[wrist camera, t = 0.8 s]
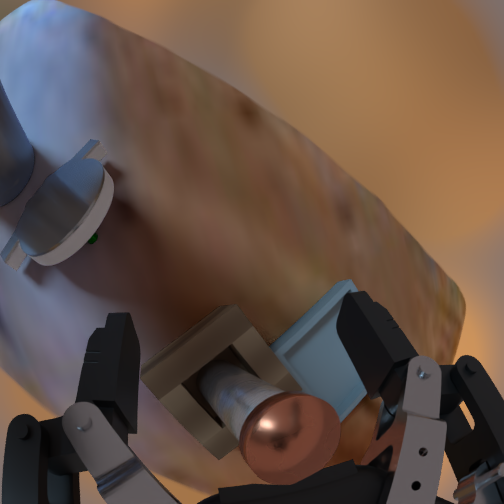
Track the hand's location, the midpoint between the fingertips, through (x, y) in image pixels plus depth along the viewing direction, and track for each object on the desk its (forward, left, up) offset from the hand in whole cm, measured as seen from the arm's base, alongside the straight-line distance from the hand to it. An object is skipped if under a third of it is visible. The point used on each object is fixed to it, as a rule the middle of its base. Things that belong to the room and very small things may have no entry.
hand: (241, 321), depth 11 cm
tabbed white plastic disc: (-15, -4, -20) cm, 25 cm away
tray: (+14, +11, -19) cm, 26 cm away
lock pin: (+6, -1, -16) cm, 17 cm away
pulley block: (+8, -1, -19) cm, 21 cm away
